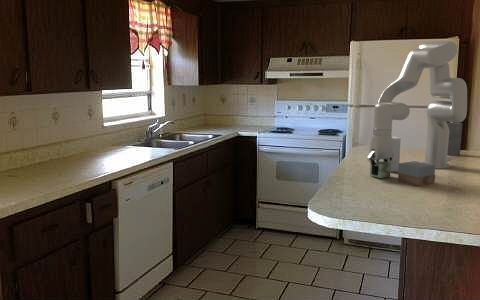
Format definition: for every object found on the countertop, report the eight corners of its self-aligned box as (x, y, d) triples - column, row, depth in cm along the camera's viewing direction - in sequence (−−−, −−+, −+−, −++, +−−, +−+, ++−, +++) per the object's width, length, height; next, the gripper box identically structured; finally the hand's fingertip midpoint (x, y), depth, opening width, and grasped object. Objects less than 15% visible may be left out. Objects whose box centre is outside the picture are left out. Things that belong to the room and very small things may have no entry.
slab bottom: (414, 179, 193) (414, 170, 193) (434, 184, 185) (435, 174, 184) (397, 182, 189) (398, 172, 188) (417, 187, 180) (418, 177, 179)
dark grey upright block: (429, 154, 251) (432, 118, 247) (430, 152, 256) (433, 117, 252) (459, 156, 244) (463, 119, 241) (459, 154, 249) (462, 118, 246)
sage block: (379, 173, 200) (380, 160, 199) (390, 176, 195) (391, 162, 194) (369, 175, 197) (370, 161, 196) (380, 178, 192) (381, 164, 190)
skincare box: (399, 172, 204) (401, 138, 202) (383, 171, 206) (385, 138, 203) (396, 168, 212) (398, 136, 210) (382, 168, 214) (383, 135, 211)
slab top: (414, 170, 193) (414, 161, 192) (434, 174, 184) (435, 165, 184) (398, 172, 188) (398, 163, 187) (418, 177, 179) (418, 167, 179)
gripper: (389, 130, 200) (387, 169, 203) (361, 133, 191) (359, 174, 194) (403, 132, 193) (400, 173, 197) (374, 135, 185) (372, 178, 188)
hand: (380, 173), depth 195 cm, fingers closed on sage block, 6 cm apart
